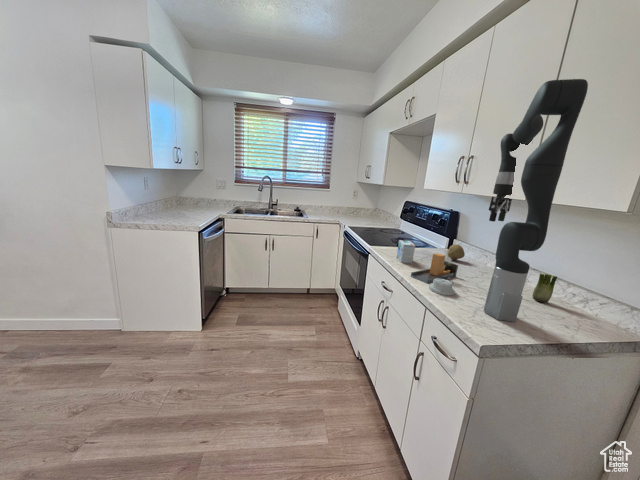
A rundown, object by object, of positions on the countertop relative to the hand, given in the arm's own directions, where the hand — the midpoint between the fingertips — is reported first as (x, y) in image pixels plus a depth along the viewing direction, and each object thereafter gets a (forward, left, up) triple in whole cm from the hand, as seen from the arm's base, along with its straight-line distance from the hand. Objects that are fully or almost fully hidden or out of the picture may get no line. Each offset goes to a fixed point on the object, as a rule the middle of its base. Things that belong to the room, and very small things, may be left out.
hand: (496, 221), depth 113 cm
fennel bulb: (-12, -18, -30) cm, 37 cm away
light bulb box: (+26, +30, -30) cm, 50 cm away
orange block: (+6, +17, -29) cm, 34 cm away
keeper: (+9, +14, -30) cm, 34 cm away
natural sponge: (+39, -3, -30) cm, 50 cm away
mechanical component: (-14, +22, -31) cm, 40 cm away
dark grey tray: (+3, +20, -30) cm, 37 cm away
